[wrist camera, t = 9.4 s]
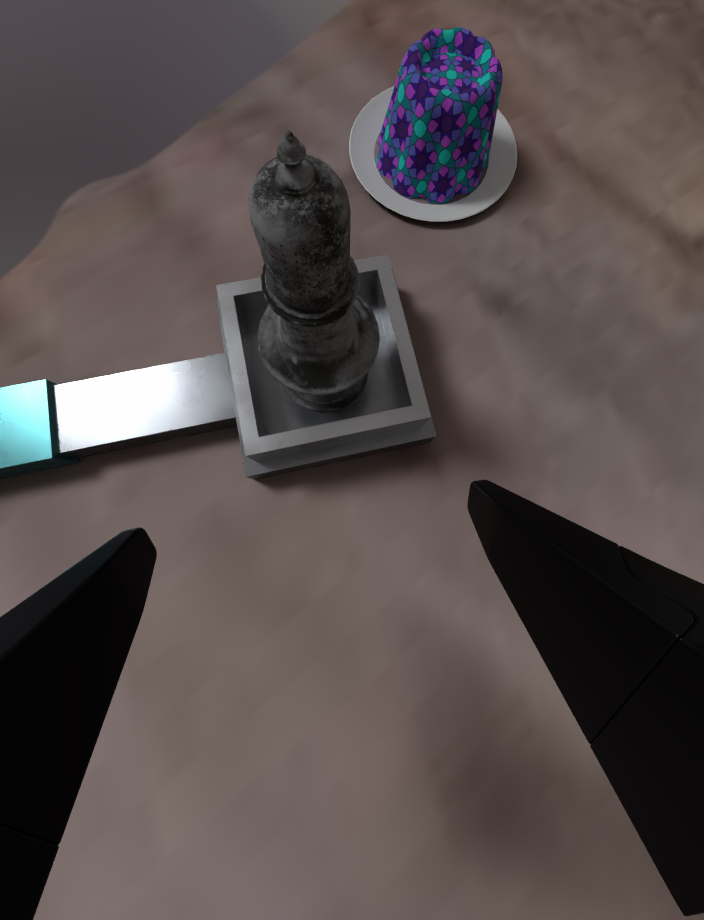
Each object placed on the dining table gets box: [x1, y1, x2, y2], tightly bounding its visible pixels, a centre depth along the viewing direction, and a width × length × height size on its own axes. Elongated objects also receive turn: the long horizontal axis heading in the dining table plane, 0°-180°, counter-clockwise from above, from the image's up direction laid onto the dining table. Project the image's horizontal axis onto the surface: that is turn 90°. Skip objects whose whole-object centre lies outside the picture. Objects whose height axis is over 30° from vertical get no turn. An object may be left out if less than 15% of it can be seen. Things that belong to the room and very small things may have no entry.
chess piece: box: [249, 131, 380, 412], centre depth 13 cm, size 6×6×12 cm
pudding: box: [349, 27, 518, 222], centre depth 21 cm, size 12×12×5 cm
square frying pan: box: [0, 254, 437, 479], centre depth 18 cm, size 11×29×4 cm, turn 102°
